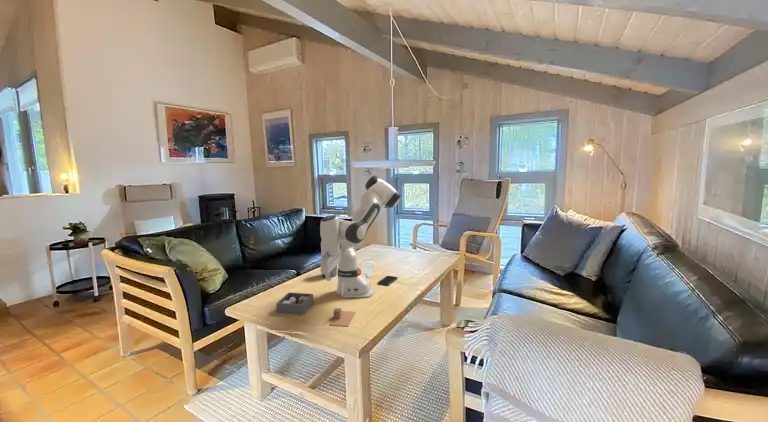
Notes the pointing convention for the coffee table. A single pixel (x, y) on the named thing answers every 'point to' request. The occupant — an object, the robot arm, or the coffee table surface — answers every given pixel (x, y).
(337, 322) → the lid
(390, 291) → the coffee table surface
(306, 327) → the coffee table surface
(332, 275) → the pillar candle
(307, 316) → the coffee table surface
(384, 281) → the phone
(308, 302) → the storage box
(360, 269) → the robot arm
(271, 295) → the coffee table surface
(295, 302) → the off-white ball
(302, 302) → the birch cube
